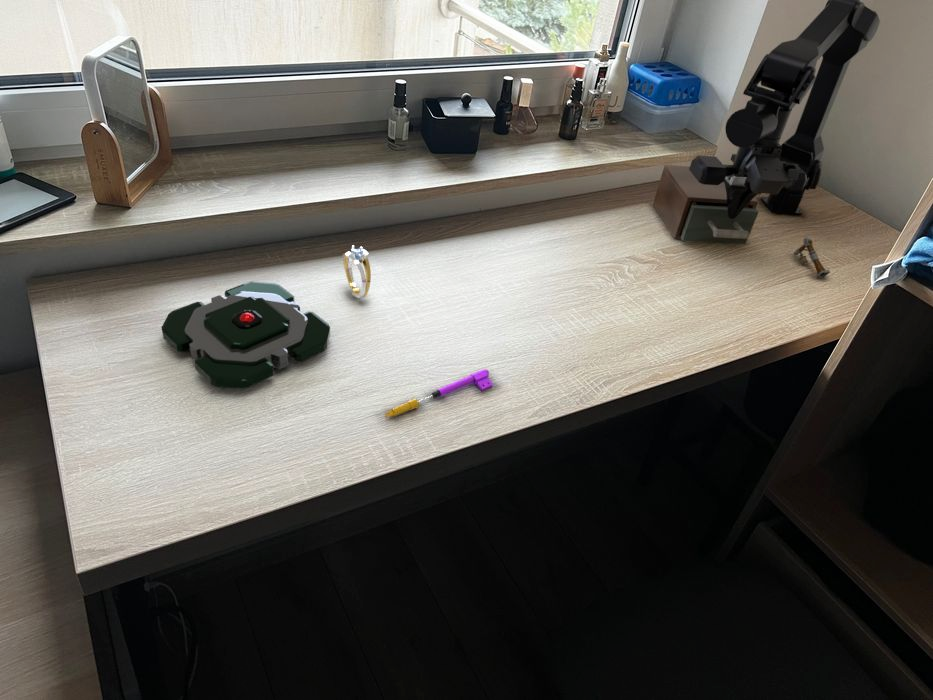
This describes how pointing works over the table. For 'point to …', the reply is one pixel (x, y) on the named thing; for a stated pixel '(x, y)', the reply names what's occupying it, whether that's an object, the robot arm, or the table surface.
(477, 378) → the purple and gold rod
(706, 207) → the drawer
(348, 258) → the ring
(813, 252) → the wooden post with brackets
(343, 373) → the table surface
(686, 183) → the cabinet
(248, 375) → the clover-shaped pad
